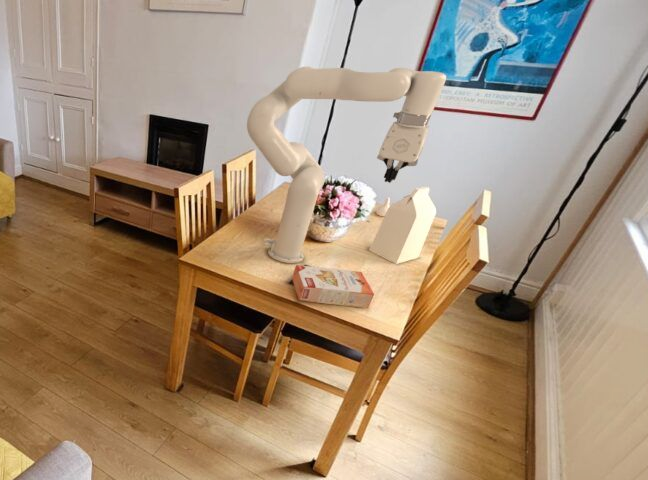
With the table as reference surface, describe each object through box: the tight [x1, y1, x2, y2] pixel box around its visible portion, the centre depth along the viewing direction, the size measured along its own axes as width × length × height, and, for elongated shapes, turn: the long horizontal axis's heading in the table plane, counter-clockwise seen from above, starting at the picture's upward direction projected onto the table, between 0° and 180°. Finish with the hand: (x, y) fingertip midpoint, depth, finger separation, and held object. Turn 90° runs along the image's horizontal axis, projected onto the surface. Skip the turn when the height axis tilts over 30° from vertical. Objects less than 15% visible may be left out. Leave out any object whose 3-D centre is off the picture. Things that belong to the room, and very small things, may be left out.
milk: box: [368, 185, 437, 265], centre depth 163 cm, size 12×12×26 cm
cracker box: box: [291, 264, 375, 309], centre depth 145 cm, size 14×6×21 cm
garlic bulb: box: [375, 196, 391, 218], centre depth 198 cm, size 6×6×8 cm
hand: (388, 181), depth 140 cm, fingers closed
